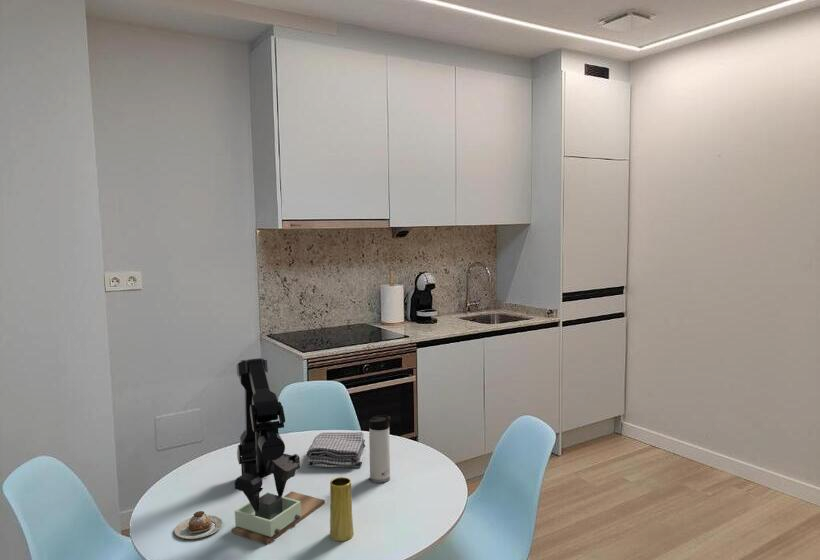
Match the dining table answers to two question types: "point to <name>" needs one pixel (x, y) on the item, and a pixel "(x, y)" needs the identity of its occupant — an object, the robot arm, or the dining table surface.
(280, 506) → the block
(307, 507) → the track
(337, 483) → the vase
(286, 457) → the robot arm
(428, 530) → the dining table surface
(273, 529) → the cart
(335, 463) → the towel
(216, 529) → the pastry
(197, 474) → the dining table surface
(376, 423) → the travel mug
